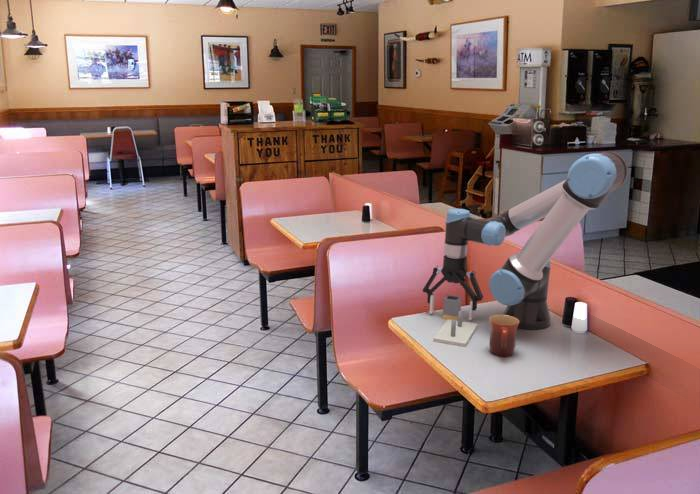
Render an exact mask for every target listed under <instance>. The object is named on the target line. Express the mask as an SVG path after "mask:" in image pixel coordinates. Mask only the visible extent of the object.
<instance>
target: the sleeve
mask: <svg viewBox="0 0 700 494" xmlns="http://www.w3.org/2000/svg"><path fill="white" fill-rule="evenodd" d="M462 298H463V297H462V296H460V295H452V294H446V295H445V297H444V298H443V300H442V301H443V302H442V303H443V304H442V319H443V320H448V319H449V320H456V321H458V311H462V310H461V309H462Z"/></svg>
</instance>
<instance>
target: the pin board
mask: <svg viewBox="0 0 700 494" xmlns="http://www.w3.org/2000/svg"><path fill="white" fill-rule="evenodd" d="M463 313H464V311H463V310H461V311H458V320H457V321H456V320H449V319H446V321H445V323H444V324H443V325H442V327H440V329H439V330H438V332H436V334H435V336H434V337H433V338H432V340H433V342H435V343H441V344H448V345H453V346H458V347H463V348H464V347H465V348H466V346H467V345H468V344H469V342H470V341H471V339H472V338H473V335H475V332H476V330H477V328H478V327H479V324H478V323H473V322H467V321H463V317H464V316H463Z"/></svg>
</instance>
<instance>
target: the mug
mask: <svg viewBox="0 0 700 494" xmlns="http://www.w3.org/2000/svg"><path fill="white" fill-rule="evenodd" d="M488 321H489V325H490V334H489V335H490V336H489V345H488V346H489V351H490V353H492V354H494V355H495V354H496V356H498V355H499V356H498V357H509V356H511V355H514V352H515V349H516V340H517V339H516V335H517V330H518V325H519V323H520V321H519V320H518V319H517V318H515V317H512V316H508V315H504V314H494V315H493V314H492V315H490V316H489V318H488Z"/></svg>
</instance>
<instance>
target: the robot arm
mask: <svg viewBox="0 0 700 494" xmlns="http://www.w3.org/2000/svg"><path fill="white" fill-rule="evenodd" d="M628 174H629V168H628V164H627V162H626V160H625V159H624V157H622V155H620V154H619V153H617V152H613V151H602V152H597V153H589V154H585V155H584V156H581V157H580V158H578V159H577V160H576V161H574V162H573V163H572V164H571V166H570V168H569V170H568V173H567V178H566V179H565V180H562V181H560V182H559V183H557V184H555V185H554V186H551V187H550V188H547V189H545V190H543V191H542V192H540V193H538V194H536V195H533V196H532V197H530V198H529V199H527V200H525V201H523V202H521V203H519V204H517V205H516V206H513V207H512V208H509V209H508V210H506V211H503V212H502V213H499V214H498V215H496V216H493V217H490V218H486V219H480V218H475V217H474V218H473V217H471V213H470V212H471V211H470V210H468V209H465V208H451V209H449V210H448V211H447V213H446V219H445V235H444V238H445V239H444V247H443V254H444V255H443V260H442V261H443V264H442V267H439V266H438V265H435V266H434V267H433V269H432V274H431V276H430V277H429V278H428V280H427V282H426V284H425V285H424V287H423V289H422V292H423V293H425V294H426V295H427V299H426V300H427V304H429V314H430V315H432V314H433V313H434V312H435V311H434V310H435V297H436V293H435V291H436V290H437V289H438V288H439V287H440V286H441V285H442V284H443V283H445V282H448V283H453V284H457V285H458V284H459V285H460V286H462V288H463V289H464V291H465V292H466V293H467V295H468V296H469V298H470V299H471V300H470V301H469V302H470V303H469V311H468V312H469V313H468V314H469V315H468V321H472V320H473V319H474V311H476V309H477V308H478V302H480V301H482V300H483V298H484V296H483V292H482V291H481V288H480V285H479V283H478V281H477V278H476V272H475V270H472V271H467V267H466V266H467V255H468V244H469V242H473V243H478V244H482V245H486V246H493V247H494V246H495V247H498V246H501V245H502V243H504V240H505V238H506V237H509V236H512V235H514V234H515V233H516V232H518V231H520V230H522V229H524V228H526V227H528V226H530V225H532V224H535V223H536V222H538V221H540V220H542V221H541V222H540V223H539V225H538V226H537V228H536V229H535V230H534V232H533V233H532V235H531V236H530V238H528V240H527V241H526V242H525V244H524V246H523V247H522V248H521V249H520V251H519V252H518V253H512V254H511V255H509V257H508V258H507V260H506V261H504V264H503V265H502V267H501V268H499V269H497V270H495V271H494V272H493V273H492V274H491V276H490V278H489V281H488V287H489V292H490V294H491V296H492V297H493V299H494V300H495V301H496V302H498V303H499V304H500V305H501V304H502V305H505V306H506V307H505V310H504V312H503V315H508V316H512V317H515V318H517V319H518V320H519V321H520V323H519V325H518V327H517V329H518V328H519V329H523V330H524V329H525V330H543V329H546V328H549V326H550V325H551V315H550V311H549V307H548V302H547V301H548V292H549V283H550V273H551V259H552V258H553V256H554V255H555V253H557V251H559V249H560V247H561V246H562V245H563V244H564V242H565V241H566V240H567V238H568V237H569V236H570V235H571V233H573V231H574V230H575V228H576V227H577V226H578V225H579V223H580V222H581V221H582V220H583V218H584V217H585V216H586V215H587V213H588V212H589V211H591V210H592V211H593V210H597V209H598V208H599V207H600V206H601V204H602V203H603V202H604V200H605V199H606V198H607V196H608V195H609V194H610V193H611V192H614V191H615V190H617V189H619V188H621V186H622V185H624V183H625V182H626V180H627V178H628ZM440 273H441V275H442V276H443V277H442V278H441V279H440V280H439V281H438V282H437V283H436V284H435V285H434V286H432V287H431V288H430V286H431V285H432V284H433V282H434V280H435V278H436V277H437V275H439V274H440ZM466 276H467V277H468V279H470V280H469V281H470V282H471V286H472V287H473V289H472V287H471V286H470V284H469V283H468V282H467V280H466Z"/></svg>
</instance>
